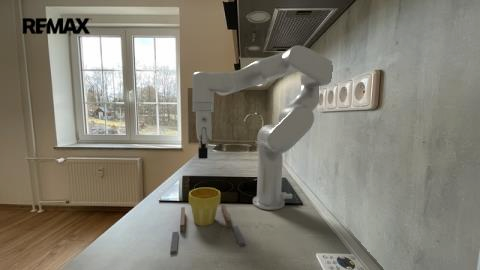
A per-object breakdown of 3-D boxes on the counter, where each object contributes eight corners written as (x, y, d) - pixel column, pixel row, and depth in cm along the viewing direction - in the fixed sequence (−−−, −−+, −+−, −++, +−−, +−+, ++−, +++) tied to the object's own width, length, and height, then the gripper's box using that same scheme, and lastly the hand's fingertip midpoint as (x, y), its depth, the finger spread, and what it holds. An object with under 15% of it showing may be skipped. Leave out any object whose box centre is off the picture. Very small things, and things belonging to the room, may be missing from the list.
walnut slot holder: (224, 210, 80) (224, 204, 80) (230, 227, 69) (230, 220, 69) (181, 214, 77) (181, 207, 77) (180, 232, 65) (180, 225, 65)
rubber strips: (237, 227, 69) (237, 225, 69) (244, 245, 60) (244, 242, 60) (172, 234, 64) (172, 232, 64) (170, 254, 56) (170, 251, 56)
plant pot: (222, 214, 77) (223, 187, 76) (216, 230, 67) (217, 199, 66) (194, 212, 78) (194, 186, 77) (184, 227, 68) (184, 197, 67)
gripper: (216, 108, 72) (215, 162, 74) (211, 108, 86) (211, 153, 88) (192, 107, 70) (192, 163, 72) (192, 107, 85) (192, 154, 87)
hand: (202, 158), depth 80 cm, fingers closed
